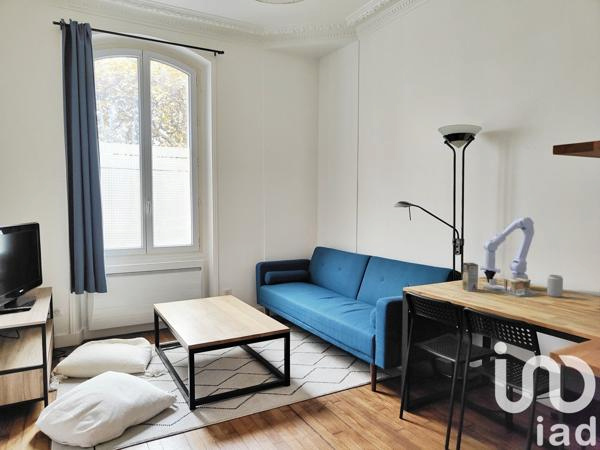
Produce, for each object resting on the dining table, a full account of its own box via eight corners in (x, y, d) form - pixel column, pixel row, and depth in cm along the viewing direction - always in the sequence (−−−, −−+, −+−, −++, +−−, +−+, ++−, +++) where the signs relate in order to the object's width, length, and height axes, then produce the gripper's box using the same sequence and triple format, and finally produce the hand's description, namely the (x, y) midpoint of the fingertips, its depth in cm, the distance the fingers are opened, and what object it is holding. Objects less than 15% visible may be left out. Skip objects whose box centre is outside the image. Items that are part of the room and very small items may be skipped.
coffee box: (461, 288, 263) (462, 262, 262) (472, 288, 263) (472, 262, 262) (467, 291, 254) (467, 264, 253) (478, 291, 254) (478, 264, 253)
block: (516, 288, 251) (516, 281, 251) (523, 290, 247) (523, 282, 246) (511, 289, 249) (511, 281, 249) (517, 290, 245) (517, 283, 245)
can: (561, 295, 243) (562, 274, 242) (563, 298, 236) (564, 276, 235) (546, 294, 246) (547, 273, 245) (547, 297, 239) (548, 275, 239)
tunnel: (519, 289, 254) (520, 277, 253) (530, 291, 247) (530, 279, 247) (503, 291, 249) (504, 279, 249) (513, 293, 242) (514, 281, 242)
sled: (495, 285, 266) (495, 279, 266) (524, 292, 246) (525, 285, 246) (489, 285, 264) (489, 279, 264) (518, 292, 244) (518, 285, 244)
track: (500, 286, 268) (500, 283, 268) (537, 295, 243) (537, 291, 243) (482, 288, 263) (482, 284, 263) (519, 297, 238) (519, 292, 238)
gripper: (476, 259, 272) (476, 281, 272) (494, 262, 258) (493, 285, 259) (485, 259, 274) (484, 280, 275) (503, 262, 261) (502, 284, 261)
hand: (489, 282), depth 267 cm, fingers closed
